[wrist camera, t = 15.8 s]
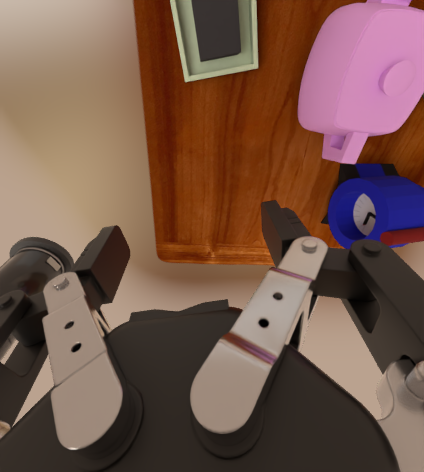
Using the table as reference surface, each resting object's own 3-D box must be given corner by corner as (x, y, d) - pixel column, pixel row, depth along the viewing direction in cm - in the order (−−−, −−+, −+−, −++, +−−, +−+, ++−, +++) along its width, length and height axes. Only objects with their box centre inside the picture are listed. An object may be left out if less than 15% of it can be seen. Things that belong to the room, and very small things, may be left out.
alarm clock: (336, 163, 39) (398, 202, 27) (404, 164, 40) (495, 202, 28) (317, 223, 46) (358, 275, 34) (374, 222, 47) (436, 274, 35)
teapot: (348, 152, 38) (403, 179, 28) (276, 145, 37) (306, 172, 27) (421, -21, 27) (559, -82, 17) (321, -37, 26) (402, -114, 15)
